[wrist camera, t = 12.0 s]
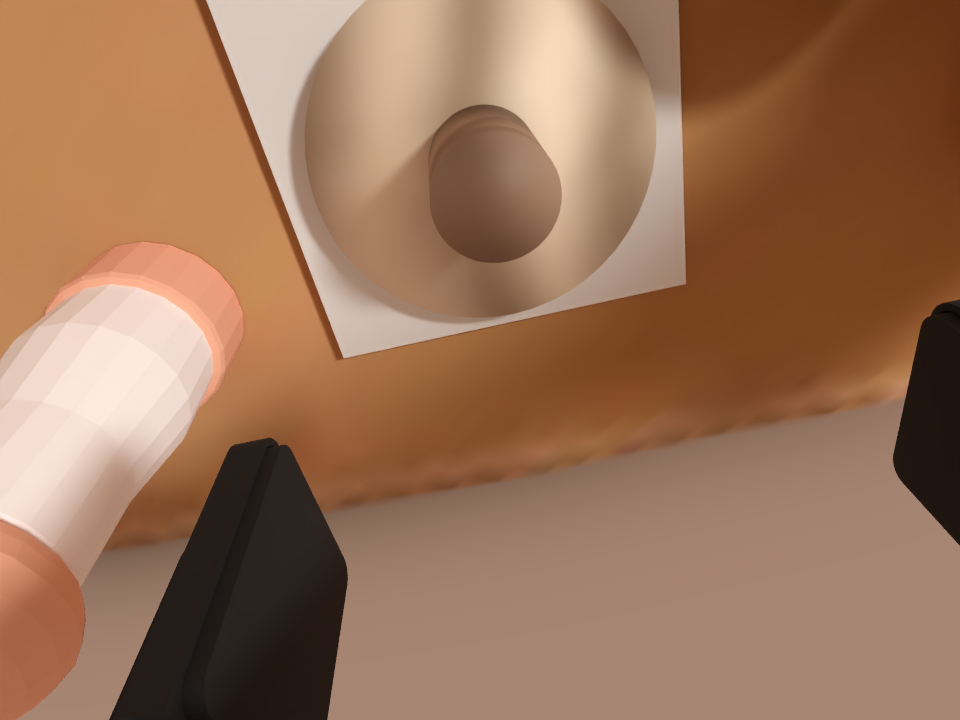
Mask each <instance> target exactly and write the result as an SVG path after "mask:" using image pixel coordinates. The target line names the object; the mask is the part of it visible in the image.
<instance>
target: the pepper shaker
mask: <svg viewBox="0 0 960 720" xmlns="http://www.w3.org/2000/svg"><path fill="white" fill-rule="evenodd" d="M243 335H244V327H243V312H242V310H241V307H240V304H239V302H238V299H237V297H236V294H235V292H234V291H233V289H232V288H231V287H230V286H229V284H228V283H227V282H226V281H225V279H224V278H223V277H222V276H221V274H220V273H219V272H218V271H216V270H215V269H214V268H212V267H211V266H210V265H208V264H207V263H206V262H204V261H203V260H201V259H200V258H199V257H197V256H196V255H193V254H191V253H188V252H186V251H183V250H181V249H178V248H176V247H173V246H171V245H165V244H157V243H149V242H138V243H132V244H126V245H120V246H116V247H114V248H113V249H111V250H109V251H107V252H106V253H104V254H102V255H100V256H98V257H97V258H95V259H94V260H93V261H92V262H91V263H90V264H88V265H87V266H86V267H85V268H84V269H82V270H81V271H80V272H79V273H78V274H77V275H75V276H74V277H73V278H72V279H71V280H69V281H68V282H67V283H66V284H65V285H64V286H62V287H61V288H60V289H59V290H58V292H57V293H56V294H55V296H54V297H53V298H52V300H51V301H50V302H49V304H48V305H47V306H46V309H45V314H44V317H43V318H41V319H40V320H39V321H38V322H36V323H35V324H34V325H33V326H31V327H30V328H29V329H28V330H26V331H25V332H24V333H23V334H21V335H20V336H19V337H18V338H16V339H15V340H14V342H13V343H12V344H11V346H10V347H9V348H8V350H7V351H6V352H5V354H4V355H3V356H2V358H1V359H0V720H16V719H17V718H18V717H20V716H22V715H23V714H25V713H26V712H28V711H29V710H31V709H33V708H34V707H35V706H36V705H37V704H39V703H40V702H41V700H43V699H44V698H45V697H46V696H47V695H48V694H49V693H51V692H52V691H53V690H54V689H55V688H56V686H57V685H58V684H59V683H60V682H61V681H62V680H63V678H64V677H65V676H66V675H67V674H68V673H69V671H70V670H71V669H72V668H73V667H74V666H75V664H76V660H77V657H78V654H79V651H80V648H81V644H82V641H83V635H84V628H85V607H84V602H83V598H82V594H81V590H80V588H81V586H82V585H83V583H84V581H85V580H86V578H87V576H88V574H89V573H90V571H91V569H92V567H93V566H94V564H95V562H96V561H97V559H98V557H99V555H100V554H101V552H102V550H103V548H104V547H105V545H106V543H107V541H108V540H109V538H110V536H111V535H112V533H113V531H114V529H115V528H116V526H117V524H118V522H119V521H120V519H121V517H122V516H123V514H124V512H125V510H126V509H127V507H128V505H129V503H130V502H131V501H132V499H133V498H134V497H135V496H136V495H137V494H138V492H139V491H140V490H141V489H142V488H143V487H144V485H145V484H146V483H147V482H148V481H149V479H150V478H151V477H152V476H153V475H154V474H155V472H156V471H157V470H158V469H159V468H160V467H161V465H162V464H163V463H164V462H165V461H166V459H167V458H168V457H169V456H170V455H171V454H172V452H173V451H174V450H175V449H176V448H177V447H178V445H179V444H180V443H181V442H182V441H183V439H184V438H185V436H186V434H187V431H188V429H189V427H190V425H191V423H192V421H193V419H194V417H195V414H196V412H197V410H198V408H199V407H201V406H203V405H204V404H205V403H206V402H207V401H208V400H209V399H210V398H211V397H212V396H213V395H214V394H215V393H216V392H217V391H218V389H219V387H220V385H221V383H222V381H223V379H224V377H225V375H226V373H227V371H228V369H229V367H230V365H231V363H232V361H233V359H234V357H235V355H236V353H237V351H238V348H239V346H240V343H241V340H242V338H243Z"/></svg>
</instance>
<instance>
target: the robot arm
mask: <svg viewBox="0 0 960 720" xmlns="http://www.w3.org/2000/svg"><path fill="white" fill-rule="evenodd" d="M893 463H894V468H895V471H896V473H897V475H898V477H899V478H900V480H901V481H902V482H903V484H904V485H905V486H906V487H907V488H908V489H909V490H910V491H911V492H912V493H913V494H914V496H915V497H916V498H917V499H918V500H919V501H920V502H921V503H922V504H923V506H924V507H925V508H926V509H927V510H928V511H929V512H930V513H931V514H932V516H934V518H935V519H936V520H937V521H938V522H939V523H940V524H941V525H942V526H943V528H944V529H945V530H946V531H947V532H948V533H949V534H950V535H951V536H952V537H953V539H954V540H955V541H956V542H957V543H958V544H959V545H960V300H956V301H951V302H946V303H942V304H940V305H938V306H937V307H936V308H935V309H934V310H933V312H932V314H931V316H929V317H927V318H926V319H925V320H924V321H923V323H922V325H921V329H920V333H919V338H918V343H917V347H916V352H915V357H914V361H913V366H912V371H911V375H910V380H909V385H908V389H907V394H906V399H905V403H904V408H903V413H902V417H901V422H900V427H899V431H898V436H897V440H896V445H895V450H894V454H893ZM347 576H348V575H347V566H346V562H345V560H344V557H343V555H342V553H341V551H340V549H339V547H338V545H337V543H336V541H335V539H334V537H333V535H332V533H331V531H330V529H329V526H328V524H327V522H326V520H325V518H324V516H323V514H322V512H321V510H320V508H319V506H318V504H317V502H316V500H315V498H314V496H313V494H312V492H311V490H310V488H309V485H308V483H307V481H306V479H305V477H304V475H303V473H302V471H301V469H300V467H299V465H298V463H297V461H296V459H295V457H294V455H293V453H292V451H291V449H290V448H289V447H288V446H287V445H280V446H279V445H278V444H277V442H276V441H275V440H274V439H272V438H266V439H261V440H256V441H251V442H246V443H241V444H236V445H234V446H232V447H231V448H230V449H229V451H228V453H227V455H226V457H225V460H224V462H223V464H222V466H221V469H220V471H219V473H218V476H217V478H216V480H215V482H214V485H213V487H212V489H211V492H210V494H209V496H208V498H207V501H206V503H205V505H204V508H203V510H202V512H201V514H200V517H199V519H198V521H197V524H196V526H195V528H194V530H193V533H192V535H191V537H190V540H189V542H188V544H187V546H186V549H185V551H184V552H183V554H182V556H181V558H180V560H179V562H178V564H177V567H176V569H175V571H174V573H173V576H172V578H171V580H170V583H169V585H168V587H167V589H166V592H165V594H164V596H163V599H162V601H161V603H160V606H159V608H158V610H157V612H156V614H155V617H154V619H153V622H152V624H151V626H150V628H149V630H148V633H147V635H146V638H145V640H144V642H143V644H142V647H141V649H140V651H139V653H138V655H137V658H136V660H135V662H134V665H133V667H132V669H131V672H130V674H129V676H128V678H127V681H126V683H125V685H124V687H123V690H122V692H121V694H120V696H119V699H118V701H117V703H116V706H115V708H114V710H113V712H112V715H111V717H110V719H109V720H327V717H328V711H329V704H330V697H331V690H332V684H333V677H334V670H335V663H336V657H337V650H338V643H339V636H340V630H341V623H342V615H343V609H344V603H345V596H346V589H347V580H348V577H347Z"/></svg>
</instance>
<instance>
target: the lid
mask: <svg viewBox="0 0 960 720" xmlns="http://www.w3.org/2000/svg"><path fill="white" fill-rule="evenodd" d="M655 151H656V115H655V106H654V98H653V94H652V90H651V86H650V82H649V78H648V75H647V72H646V70H645V67H644V65H643V62H642V60H641V57H640V55H639V52H638V50H637V49H636V47H635V45H634V43H633V42H632V40H631V38H630V36H629V35H628V33H627V31H626V30H625V28H624V27H623V26H622V24H621V23H620V22H619V21H618V19H617V18H616V17H615V15H614V14H613V13H612V12H611V10H610V9H609V8H608V7H606V6H605V5H604V4H603V3H602V2H601V1H600V0H366V1H365V2H364V3H363V4H362V5H361V6H360V7H359V8H358V9H357V10H356V11H355V12H354V13H352V15H351V16H350V17H349V19H348V20H347V21H346V22H345V24H344V25H343V26H342V28H341V29H340V30H339V32H338V33H337V34H336V36H335V37H334V39H333V41H332V43H331V44H330V46H329V48H328V50H327V51H326V53H325V55H324V57H323V59H322V61H321V64H320V66H319V69H318V71H317V74H316V77H315V79H314V82H313V85H312V89H311V94H310V98H309V102H308V106H307V114H306V123H305V158H306V165H307V171H308V178H309V182H310V186H311V189H312V192H313V196H314V199H315V203H316V205H317V207H318V210H319V212H320V214H321V217H322V219H323V221H324V223H325V225H326V227H327V228H328V230H329V232H330V234H331V235H332V237H333V239H334V240H335V242H336V243H337V245H338V246H339V247H340V249H341V250H342V251H343V252H344V254H345V255H346V256H347V258H348V259H349V260H350V261H351V262H352V263H353V264H354V265H355V266H356V267H357V268H358V269H359V270H360V271H361V272H362V273H363V274H364V275H365V276H366V277H368V278H369V279H370V280H371V281H373V282H374V283H375V284H376V285H378V286H379V287H380V288H382V289H384V290H385V291H387V292H389V293H390V294H392V295H393V296H395V297H397V298H399V299H401V300H403V301H405V302H407V303H410V304H412V305H414V306H416V307H419V308H422V309H425V310H429V311H432V312H435V313H440V314H445V315H450V316H456V317H470V318H482V317H497V316H504V315H510V314H515V313H519V312H522V311H526V310H529V309H533V308H535V307H538V306H540V305H543V304H545V303H548V302H550V301H552V300H554V299H556V298H558V297H560V296H561V295H563V294H565V293H567V292H569V291H570V290H572V289H573V288H575V287H576V286H577V285H579V284H580V283H582V282H583V281H584V280H586V279H587V278H588V277H589V276H590V275H592V274H593V273H594V272H595V271H596V270H597V269H598V268H599V267H600V266H602V265H603V263H604V262H605V261H606V260H607V259H608V258H609V257H610V256H611V254H612V253H613V252H614V251H615V250H616V249H617V247H618V246H619V244H620V243H621V242H622V240H623V239H624V237H625V236H626V234H627V233H628V232H629V230H630V228H631V226H632V224H633V222H634V220H635V219H636V217H637V215H638V213H639V211H640V208H641V206H642V203H643V201H644V198H645V196H646V193H647V190H648V186H649V183H650V179H651V175H652V171H653V165H654V158H655Z"/></svg>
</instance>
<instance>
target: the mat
mask: <svg viewBox="0 0 960 720" xmlns="http://www.w3.org/2000/svg"><path fill="white" fill-rule="evenodd" d="M206 1H207V3H208V6H209V8H210V11H211V14H212V16H213V19H214V21H215V24H216V27H217V29H218V32H219V35H220V37H221V40H222V42H223V45H224V48H225V50H226V53H227V55H228V58H229V61H230V63H231V66H232V68H233V71H234V74H235V76H236V79H237V81H238V84H239V87H240V89H241V92H242V95H243V97H244V100H245V102H246V105H247V108H248V110H249V113H250V115H251V118H252V121H253V123H254V126H255V128H256V131H257V134H258V136H259V139H260V141H261V144H262V147H263V149H264V152H265V155H266V157H267V160H268V162H269V165H270V168H271V170H272V173H273V175H274V178H275V181H276V183H277V186H278V188H279V191H280V194H281V196H282V199H283V201H284V204H285V207H286V209H287V212H288V214H289V217H290V220H291V222H292V225H293V228H294V230H295V233H296V235H297V238H298V241H299V243H300V246H301V248H302V251H303V254H304V256H305V259H306V261H307V264H308V267H309V269H310V272H311V274H312V277H313V280H314V282H315V285H316V288H317V290H318V293H319V295H320V298H321V301H322V303H323V306H324V308H325V311H326V314H327V316H328V319H329V321H330V324H331V327H332V329H333V332H334V334H335V337H336V340H337V342H338V345H339V348H340V350H341V353H342V355H343V358H348V357H353V356H357V355H362V354H366V353H371V352H376V351H380V350H385V349H389V348H394V347H399V346H403V345H408V344H412V343H417V342H422V341H426V340H431V339H435V338H440V337H445V336H449V335H454V334H458V333H463V332H468V331H472V330H477V329H481V328H486V327H490V326H495V325H500V324H504V323H509V322H513V321H518V320H523V319H527V318H532V317H536V316H541V315H546V314H550V313H555V312H559V311H564V310H569V309H573V308H578V307H582V306H587V305H592V304H596V303H601V302H605V301H610V300H615V299H619V298H624V297H628V296H633V295H638V294H642V293H647V292H651V291H656V290H661V289H665V288H670V287H674V286H679V285H684V284H686V263H685V225H684V187H683V149H682V111H681V73H680V35H679V0H600V1H601V2H602V3H603V4H604V5H605V6H606V7H608V8H609V9H610V10H611V12H612V13H613V14H614V15H615V17H616V18H617V19H618V21H619V22H620V23H621V24H622V26H623V27H624V28H625V30H626V31H627V33H628V35H629V36H630V38H631V40H632V42H633V43H634V45H635V47H636V49H637V50H638V52H639V55H640V57H641V60H642V62H643V65H644V67H645V70H646V72H647V75H648V78H649V82H650V86H651V90H652V94H653V98H654V106H655V115H656V151H655V158H654V165H653V171H652V175H651V179H650V183H649V186H648V190H647V193H646V196H645V198H644V201H643V203H642V206H641V208H640V211H639V213H638V215H637V217H636V219H635V220H634V222H633V224H632V226H631V228H630V230H629V232H628V233H627V234H626V236H625V237H624V239H623V240H622V242H621V243H620V244H619V246H618V247H617V249H616V250H615V251H614V252H613V253H612V254H611V256H610V257H609V258H608V259H607V260H606V261H605V262H604V263H603V265H602V266H600V267H599V268H598V269H597V270H596V271H595V272H594V273H593V274H592V275H590V276H589V277H588V278H587V279H586V280H584V281H583V282H582V283H580V284H579V285H577V286H576V287H575V288H573V289H572V290H570V291H569V292H567V293H565V294H563V295H561V296H560V297H558V298H556V299H554V300H552V301H550V302H548V303H545V304H543V305H540V306H538V307H535V308H533V309H529V310H526V311H522V312H519V313H515V314H510V315H504V316H497V317H482V318H470V317H456V316H450V315H445V314H440V313H435V312H432V311H429V310H425V309H422V308H419V307H416V306H414V305H412V304H410V303H407V302H405V301H403V300H401V299H399V298H397V297H395V296H393V295H392V294H390V293H389V292H387V291H385V290H384V289H382V288H380V287H379V286H378V285H376V284H375V283H374V282H373V281H371V280H370V279H369V278H368V277H366V276H365V275H364V274H363V273H362V272H361V271H360V270H359V269H358V268H357V267H356V266H355V265H354V264H353V263H352V262H351V261H350V260H349V259H348V258H347V256H346V255H345V254H344V252H343V251H342V250H341V249H340V247H339V246H338V245H337V243H336V242H335V240H334V239H333V237H332V235H331V234H330V232H329V230H328V228H327V227H326V225H325V223H324V221H323V219H322V217H321V214H320V212H319V210H318V207H317V205H316V203H315V199H314V196H313V192H312V189H311V186H310V182H309V178H308V171H307V165H306V158H305V123H306V114H307V106H308V102H309V98H310V94H311V89H312V85H313V82H314V79H315V77H316V74H317V71H318V69H319V66H320V64H321V61H322V59H323V57H324V55H325V53H326V51H327V50H328V48H329V46H330V44H331V43H332V41H333V39H334V37H335V36H336V34H337V33H338V32H339V30H340V29H341V28H342V26H343V25H344V24H345V22H346V21H347V20H348V19H349V17H350V16H351V15H352V13H354V12H355V11H356V10H357V9H358V8H359V7H360V6H361V5H362V4H363V3H364V2H365V1H366V0H206Z"/></svg>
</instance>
